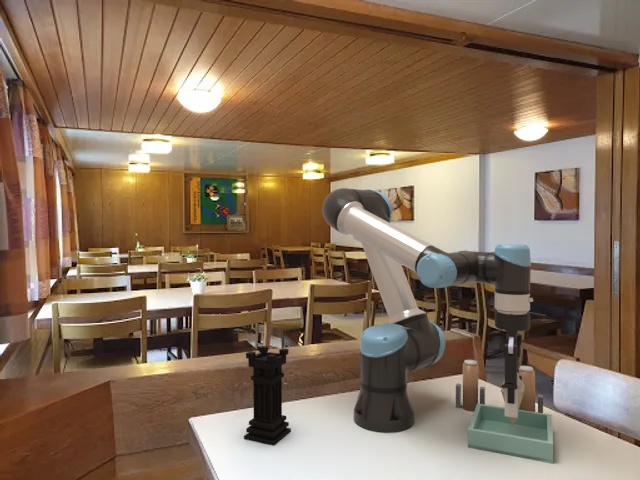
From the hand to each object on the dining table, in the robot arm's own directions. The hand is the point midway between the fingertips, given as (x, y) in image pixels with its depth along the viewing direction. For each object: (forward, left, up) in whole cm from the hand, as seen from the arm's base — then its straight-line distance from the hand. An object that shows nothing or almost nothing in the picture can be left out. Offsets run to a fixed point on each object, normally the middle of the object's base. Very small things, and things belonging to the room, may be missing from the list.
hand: (511, 411), depth 109 cm
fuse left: (-11, +15, -6) cm, 20 cm away
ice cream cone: (0, 0, -4) cm, 4 cm away
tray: (0, 0, -6) cm, 6 cm away
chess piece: (-52, -22, -7) cm, 57 cm away
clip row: (-4, +15, -6) cm, 17 cm away
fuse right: (+3, +15, -6) cm, 17 cm away
